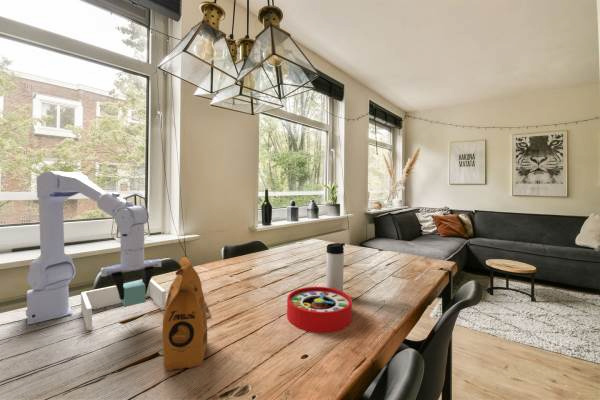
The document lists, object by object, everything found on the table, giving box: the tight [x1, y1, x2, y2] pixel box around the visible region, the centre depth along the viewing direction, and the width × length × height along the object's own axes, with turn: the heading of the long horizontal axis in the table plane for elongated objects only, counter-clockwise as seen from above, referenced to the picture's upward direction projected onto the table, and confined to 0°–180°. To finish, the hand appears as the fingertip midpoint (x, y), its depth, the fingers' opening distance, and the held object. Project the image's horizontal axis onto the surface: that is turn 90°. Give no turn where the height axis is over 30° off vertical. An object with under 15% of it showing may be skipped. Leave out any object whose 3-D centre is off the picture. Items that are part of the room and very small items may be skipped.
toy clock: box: [286, 286, 353, 334], centre depth 84 cm, size 20×6×20 cm
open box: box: [80, 278, 167, 332], centre depth 86 cm, size 20×16×6 cm
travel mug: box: [325, 242, 346, 292], centre depth 99 cm, size 6×7×20 cm
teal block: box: [121, 279, 147, 308], centre depth 77 cm, size 5×5×5 cm
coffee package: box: [161, 256, 208, 371], centre depth 63 cm, size 10×12×22 cm
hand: (133, 295), depth 77 cm, fingers closed on teal block, 5 cm apart
